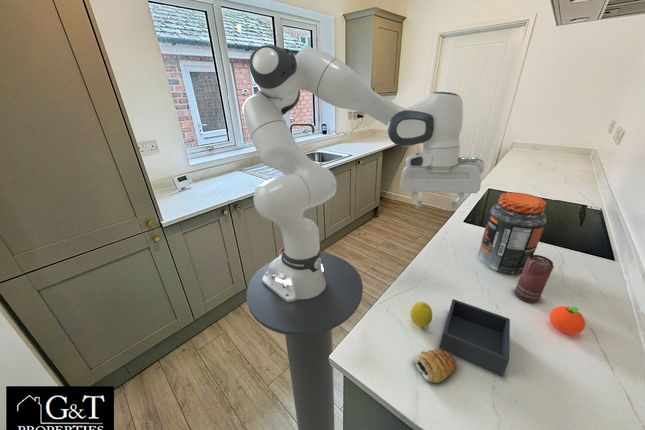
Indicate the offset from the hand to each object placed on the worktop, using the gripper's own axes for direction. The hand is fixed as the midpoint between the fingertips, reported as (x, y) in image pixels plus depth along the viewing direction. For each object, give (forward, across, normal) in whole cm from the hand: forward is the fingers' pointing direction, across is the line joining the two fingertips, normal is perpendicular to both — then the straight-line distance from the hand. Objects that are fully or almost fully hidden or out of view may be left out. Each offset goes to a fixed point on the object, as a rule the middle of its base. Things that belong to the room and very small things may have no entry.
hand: (436, 206), depth 75 cm
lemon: (+31, +2, +14) cm, 34 cm away
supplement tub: (+29, -25, -25) cm, 45 cm away
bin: (+32, -11, +15) cm, 36 cm away
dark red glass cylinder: (+31, -28, -8) cm, 42 cm away
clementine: (+32, -34, +3) cm, 47 cm away
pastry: (+32, -1, +26) cm, 41 cm away
